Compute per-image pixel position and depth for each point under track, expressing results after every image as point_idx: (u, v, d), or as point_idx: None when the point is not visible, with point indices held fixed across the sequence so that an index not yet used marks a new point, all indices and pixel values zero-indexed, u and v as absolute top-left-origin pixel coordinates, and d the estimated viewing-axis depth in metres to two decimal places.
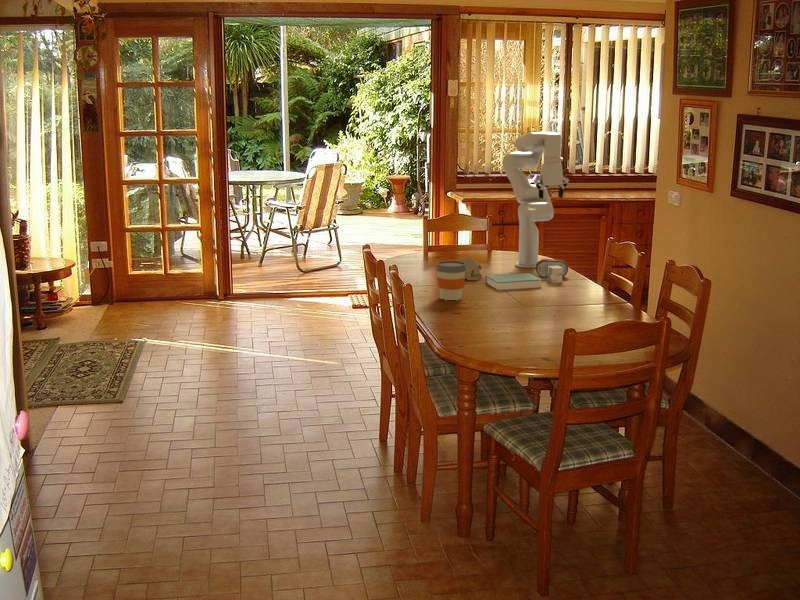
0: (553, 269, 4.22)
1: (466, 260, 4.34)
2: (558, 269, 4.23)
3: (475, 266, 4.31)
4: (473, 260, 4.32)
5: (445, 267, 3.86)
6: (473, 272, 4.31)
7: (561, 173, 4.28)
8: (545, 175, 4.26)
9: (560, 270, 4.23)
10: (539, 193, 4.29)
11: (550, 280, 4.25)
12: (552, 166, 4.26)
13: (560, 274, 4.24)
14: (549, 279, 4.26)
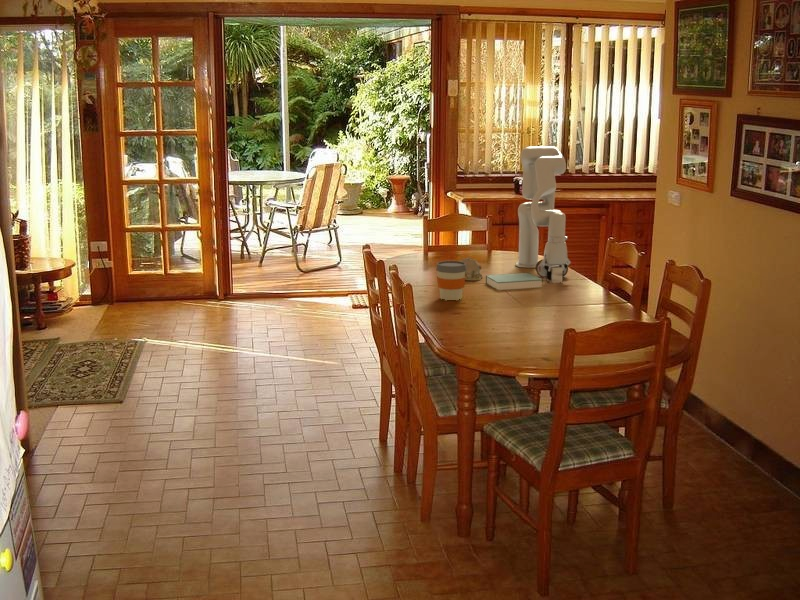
0: (553, 269, 4.22)
1: (466, 260, 4.33)
2: (558, 269, 4.23)
3: (476, 266, 4.30)
4: (473, 260, 4.32)
5: (445, 267, 3.86)
6: (474, 272, 4.31)
7: (565, 252, 4.22)
8: (549, 255, 4.20)
9: (560, 270, 4.23)
10: (547, 274, 4.24)
11: (550, 280, 4.25)
12: (557, 246, 4.20)
13: (560, 274, 4.24)
14: None
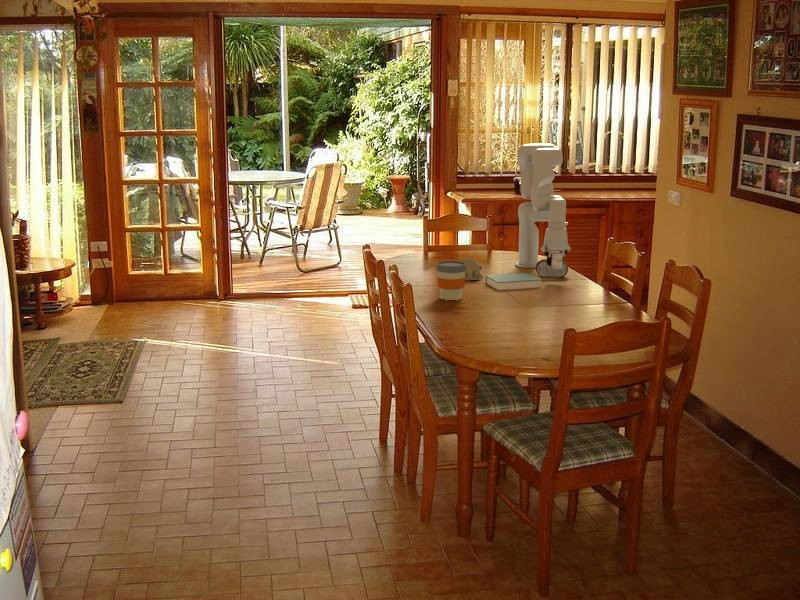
0: (553, 255, 4.21)
1: (467, 261, 4.32)
2: (558, 255, 4.22)
3: (476, 266, 4.30)
4: (474, 260, 4.31)
5: (445, 267, 3.86)
6: (474, 272, 4.30)
7: (566, 238, 4.21)
8: (549, 240, 4.19)
9: (560, 256, 4.22)
10: (547, 260, 4.23)
11: (550, 266, 4.24)
12: (557, 232, 4.19)
13: (560, 260, 4.22)
14: None
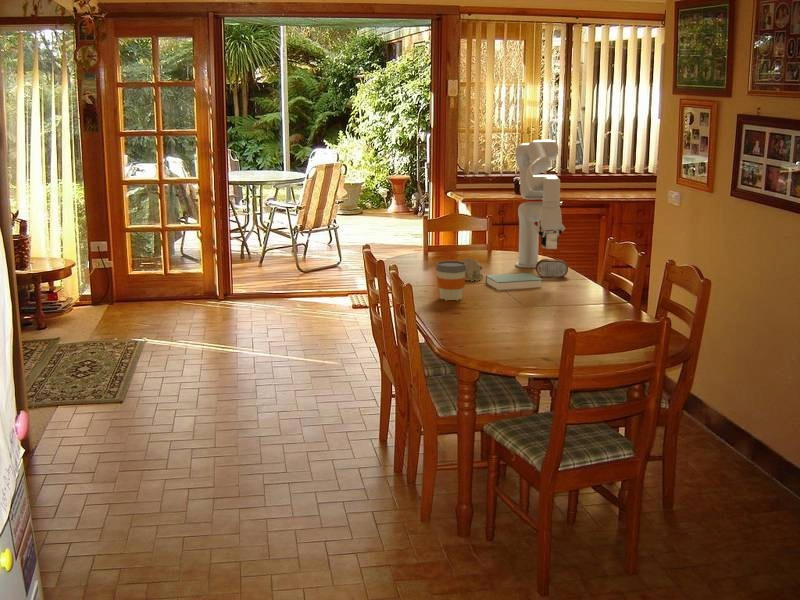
0: (548, 235, 4.17)
1: (467, 261, 4.32)
2: (552, 235, 4.18)
3: (477, 267, 4.29)
4: (474, 261, 4.31)
5: (445, 267, 3.86)
6: (475, 273, 4.30)
7: (560, 218, 4.17)
8: (544, 220, 4.15)
9: (555, 236, 4.18)
10: (542, 240, 4.19)
11: (545, 246, 4.20)
12: (551, 211, 4.15)
13: (555, 240, 4.19)
14: None
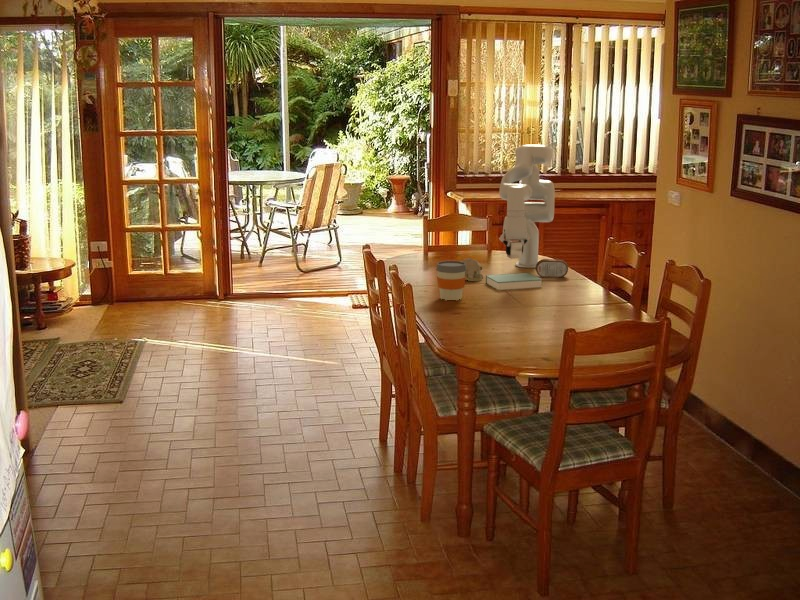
0: (512, 244, 4.12)
1: (467, 261, 4.31)
2: (517, 244, 4.12)
3: (477, 267, 4.29)
4: (475, 261, 4.30)
5: (445, 267, 3.86)
6: (475, 273, 4.29)
7: (525, 227, 4.12)
8: (508, 229, 4.10)
9: (519, 245, 4.13)
10: (506, 250, 4.14)
11: (509, 255, 4.14)
12: (516, 220, 4.10)
13: (519, 249, 4.13)
14: None
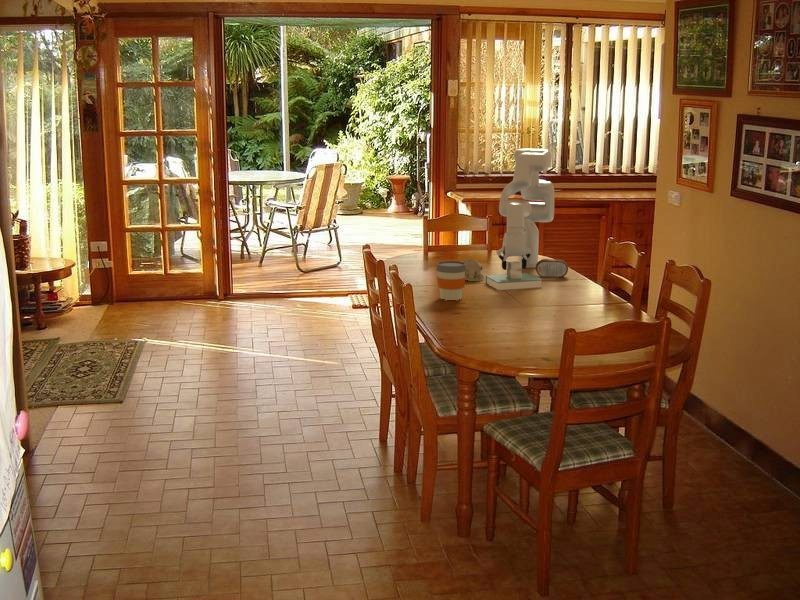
0: (512, 264, 4.14)
1: (468, 261, 4.31)
2: (517, 265, 4.15)
3: (478, 267, 4.29)
4: (475, 261, 4.30)
5: (445, 267, 3.86)
6: (476, 273, 4.29)
7: (524, 243, 4.14)
8: (508, 246, 4.12)
9: (519, 265, 4.15)
10: (502, 264, 4.15)
11: (509, 276, 4.17)
12: (515, 237, 4.11)
13: (519, 269, 4.16)
14: (508, 275, 4.18)
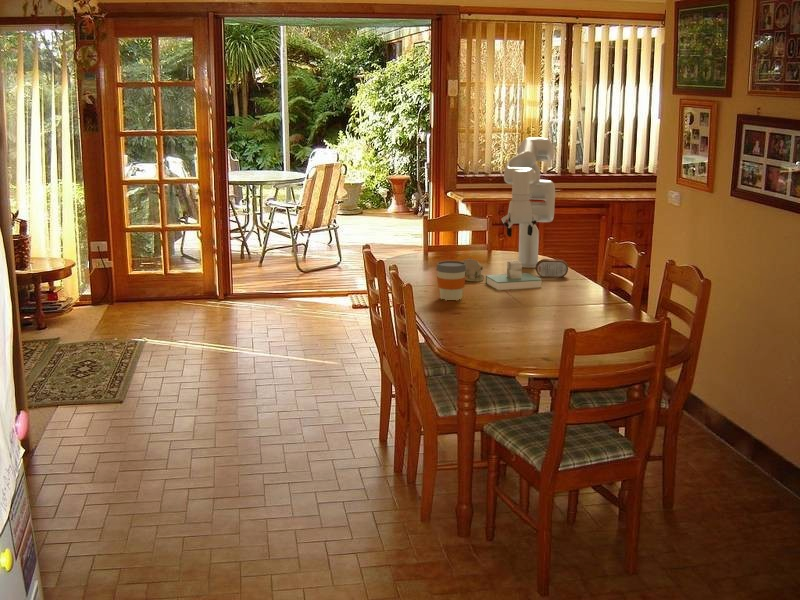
0: (512, 264, 4.14)
1: (468, 261, 4.30)
2: (517, 265, 4.15)
3: (478, 267, 4.28)
4: (475, 261, 4.30)
5: (445, 267, 3.87)
6: (476, 273, 4.29)
7: (530, 211, 4.15)
8: (513, 213, 4.13)
9: (519, 265, 4.15)
10: (507, 231, 4.16)
11: (509, 275, 4.17)
12: (520, 204, 4.12)
13: (519, 269, 4.16)
14: (508, 274, 4.18)
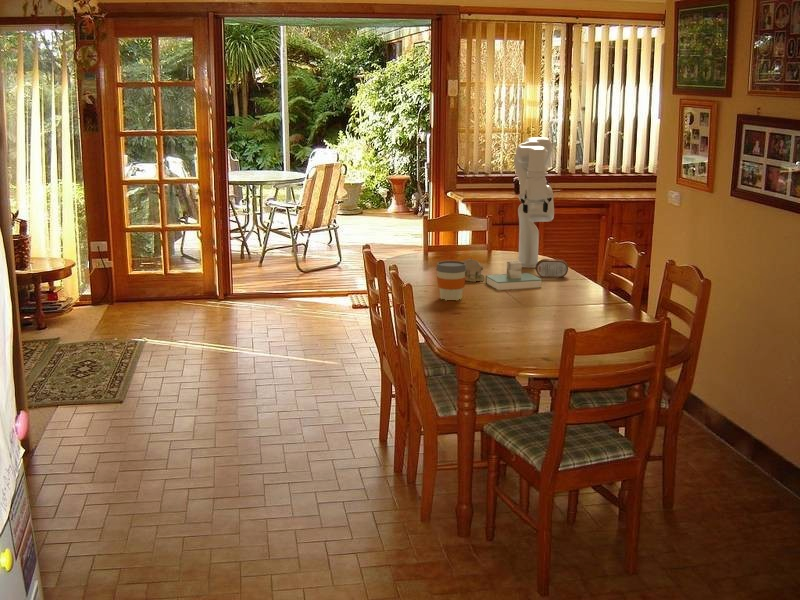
0: (512, 264, 4.14)
1: (468, 262, 4.30)
2: (517, 264, 4.15)
3: (479, 267, 4.28)
4: (476, 261, 4.29)
5: (445, 267, 3.87)
6: (477, 273, 4.28)
7: (545, 188, 4.27)
8: (529, 190, 4.25)
9: (519, 265, 4.15)
10: (523, 208, 4.28)
11: (509, 275, 4.17)
12: (537, 181, 4.24)
13: (519, 269, 4.16)
14: (508, 274, 4.18)
